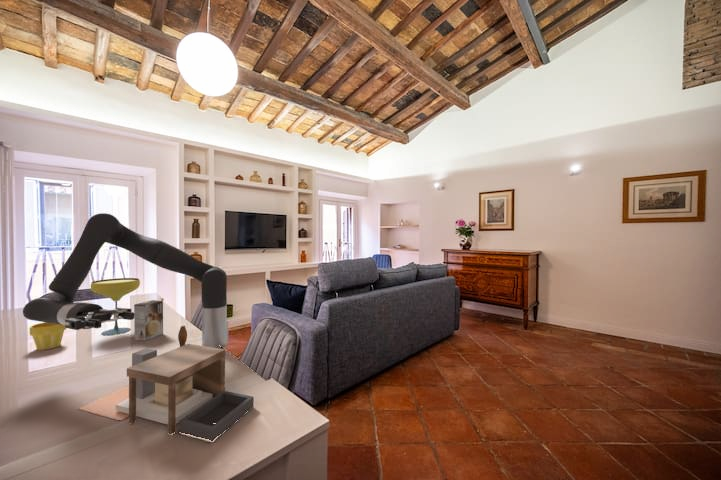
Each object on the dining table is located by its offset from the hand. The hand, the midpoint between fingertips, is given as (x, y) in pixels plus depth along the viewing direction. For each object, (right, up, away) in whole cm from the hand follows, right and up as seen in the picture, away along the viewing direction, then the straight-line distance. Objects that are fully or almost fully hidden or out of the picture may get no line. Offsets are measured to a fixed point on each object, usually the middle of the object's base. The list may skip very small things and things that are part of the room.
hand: (117, 320), depth 82 cm
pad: (+6, -22, -2) cm, 23 cm away
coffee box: (-27, -22, +48) cm, 59 cm away
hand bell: (+10, -22, +14) cm, 28 cm away
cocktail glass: (-48, -22, +55) cm, 76 cm away
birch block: (+21, -20, -6) cm, 30 cm away
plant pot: (-59, -22, +35) cm, 72 cm away
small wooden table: (+23, -22, -7) cm, 33 cm away
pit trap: (+35, -22, -11) cm, 43 cm away
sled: (+18, -22, -6) cm, 29 cm away
